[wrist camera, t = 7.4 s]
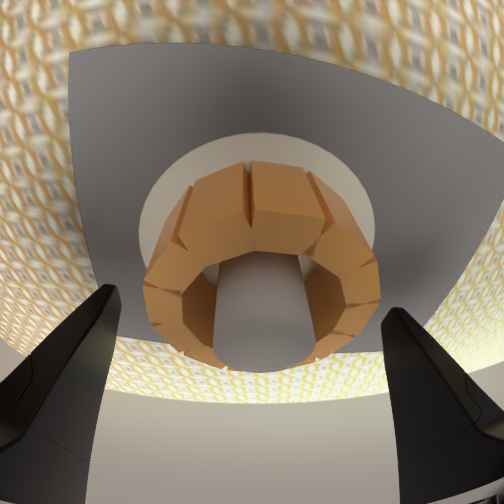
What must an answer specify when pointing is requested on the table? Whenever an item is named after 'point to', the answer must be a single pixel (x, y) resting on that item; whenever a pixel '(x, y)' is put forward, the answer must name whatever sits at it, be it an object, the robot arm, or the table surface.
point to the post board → (281, 152)
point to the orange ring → (260, 239)
